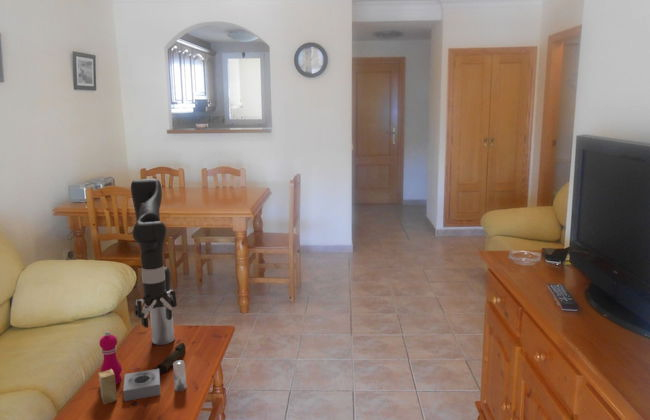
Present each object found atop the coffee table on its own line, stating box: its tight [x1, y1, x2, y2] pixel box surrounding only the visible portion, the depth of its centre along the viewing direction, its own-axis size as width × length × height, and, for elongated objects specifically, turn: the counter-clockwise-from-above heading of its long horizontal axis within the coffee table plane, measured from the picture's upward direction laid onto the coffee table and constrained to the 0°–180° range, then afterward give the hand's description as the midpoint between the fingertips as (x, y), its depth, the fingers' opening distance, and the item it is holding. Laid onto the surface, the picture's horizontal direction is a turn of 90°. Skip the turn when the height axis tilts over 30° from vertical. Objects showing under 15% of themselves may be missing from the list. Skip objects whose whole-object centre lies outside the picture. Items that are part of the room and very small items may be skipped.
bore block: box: [122, 368, 161, 402], centre depth 182 cm, size 12×12×4 cm
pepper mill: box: [99, 331, 123, 385], centre depth 185 cm, size 7×7×20 cm
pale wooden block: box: [98, 369, 118, 405], centre depth 175 cm, size 4×4×10 cm
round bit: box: [172, 359, 187, 392], centre depth 181 cm, size 4×4×10 cm
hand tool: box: [156, 342, 186, 374], centre depth 202 cm, size 19×4×5 cm, turn 165°
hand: (157, 323), depth 175 cm, fingers open, 8 cm apart
